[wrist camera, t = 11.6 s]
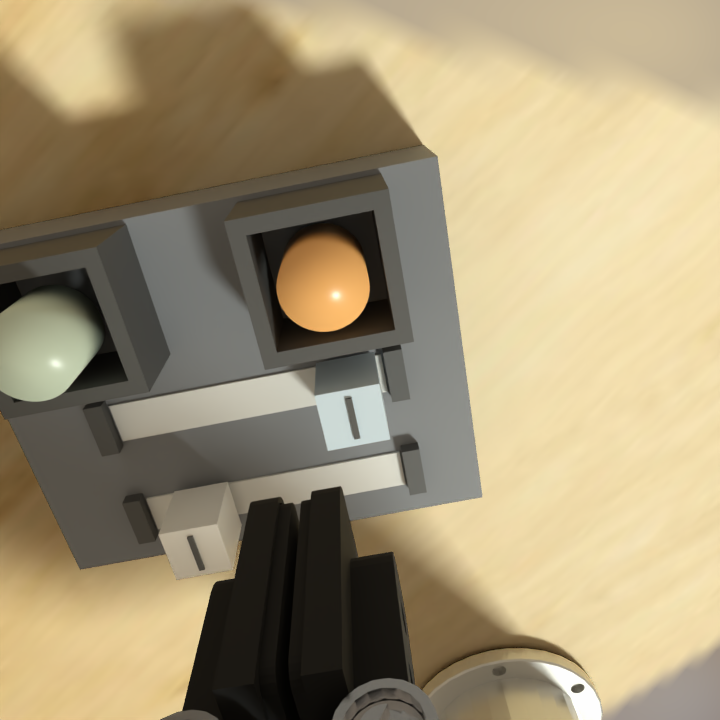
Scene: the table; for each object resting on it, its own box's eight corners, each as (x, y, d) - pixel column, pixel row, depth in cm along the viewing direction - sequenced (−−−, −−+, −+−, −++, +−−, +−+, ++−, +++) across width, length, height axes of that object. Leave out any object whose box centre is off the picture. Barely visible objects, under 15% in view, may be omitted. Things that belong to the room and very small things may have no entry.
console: (466, 451, 35) (500, 546, 28) (105, 517, 35) (52, 625, 28) (423, 144, 28) (453, 169, 21) (-20, 233, 29) (-128, 285, 22)
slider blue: (384, 403, 28) (390, 440, 25) (327, 413, 28) (327, 452, 25) (374, 351, 27) (379, 385, 24) (315, 362, 27) (314, 397, 24)
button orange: (372, 295, 25) (377, 322, 23) (293, 310, 26) (288, 339, 23) (356, 215, 24) (360, 234, 21) (273, 232, 24) (266, 252, 22)
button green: (116, 356, 25) (90, 392, 22) (36, 371, 25) (-1, 409, 22) (87, 277, 23) (54, 304, 21) (1, 293, 23) (-42, 323, 21)
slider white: (241, 524, 30) (232, 571, 28) (190, 534, 30) (176, 581, 28) (227, 481, 29) (216, 525, 27) (174, 491, 29) (157, 536, 27)
